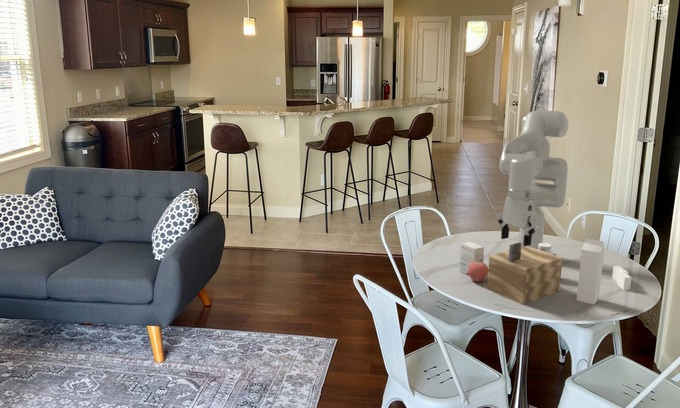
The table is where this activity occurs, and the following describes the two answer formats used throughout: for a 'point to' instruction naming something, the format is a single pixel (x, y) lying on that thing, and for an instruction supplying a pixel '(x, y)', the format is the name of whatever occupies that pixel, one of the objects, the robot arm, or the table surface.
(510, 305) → the table surface
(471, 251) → the ink box
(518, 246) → the lid
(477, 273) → the apple
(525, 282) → the wooden box
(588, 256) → the milk
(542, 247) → the supplement bottle
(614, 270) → the white stepped block
